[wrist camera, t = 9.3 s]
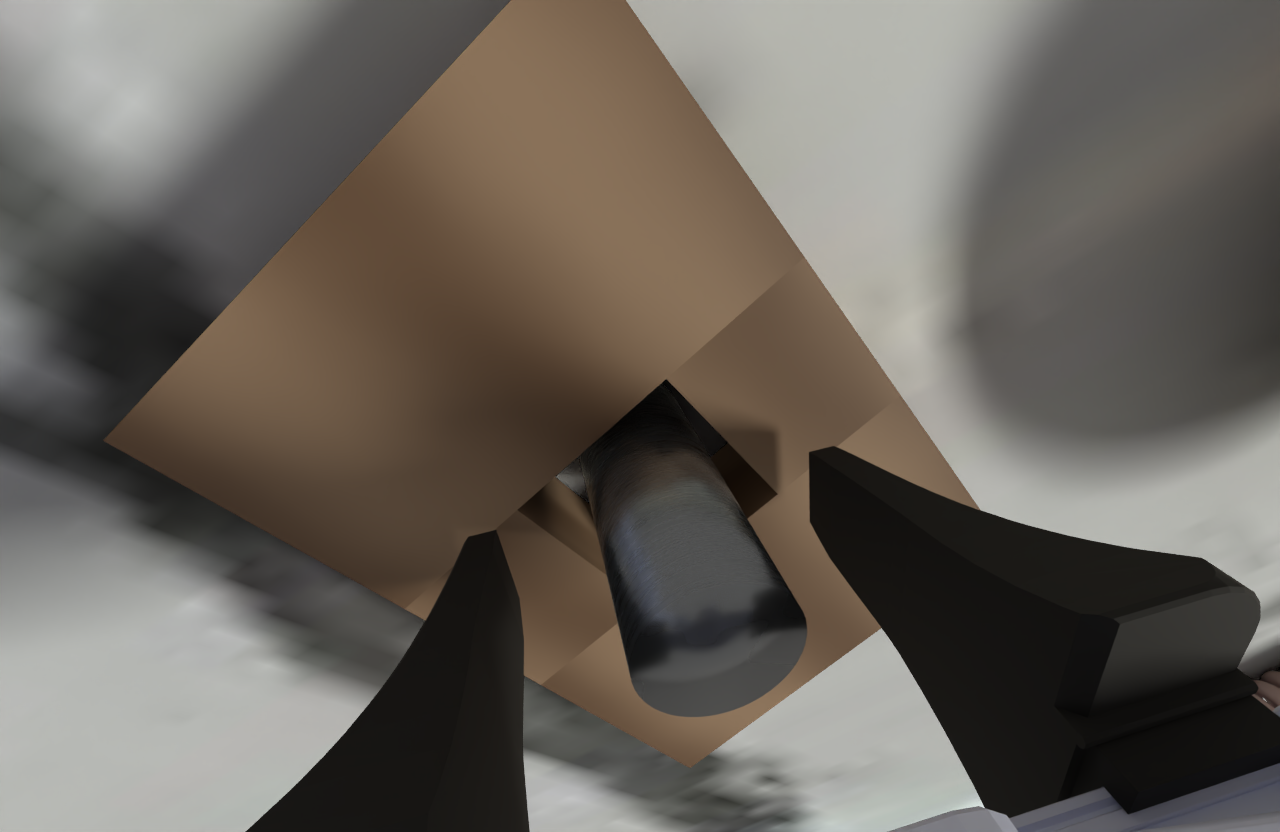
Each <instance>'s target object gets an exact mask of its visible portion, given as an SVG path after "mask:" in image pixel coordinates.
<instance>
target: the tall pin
mask: <svg viewBox="0 0 1280 832" xmlns="http://www.w3.org/2000/svg"><path fill="white" fill-rule="evenodd" d="M579 459H580V463H581V468H582V472H583V476H584V481H585V485H586V489H587V493H588V498H589V502H590V506H591V511H592V515H593V519H594V523H595V528H596V532H597V536H598V541H599V545H600V549H601V553H602V558H603V562H604V566H605V571H606V575H607V579H608V584H609V588H610V592H611V596H612V601H613V605H614V609H615V614H616V618H617V622H618V626H619V631H620V635H621V639H622V644H623V648H624V652H625V656H626V661H627V665H628V669H629V674H630V678H631V682H632V685H633V687H634V689H635V691H636V692H637V694H638V695H639V697H640V698H641V699H642V700H643V701H644V702H645V703H647V704H648V705H649V706H651V707H652V708H654V709H656V710H658V711H660V712H663V713H666V714H670V715H675V716H681V717H705V716H712V715H717V714H722V713H725V712H729V711H732V710H735V709H738V708H740V707H743V706H745V705H747V704H749V703H751V702H753V701H755V700H757V699H758V698H760V697H762V696H763V695H765V694H766V693H768V692H769V691H771V690H772V689H773V688H774V687H776V686H777V685H778V684H779V683H780V682H781V681H782V680H783V679H784V678H785V677H786V676H787V675H788V674H789V673H790V672H791V670H792V669H793V668H794V666H795V665H796V663H797V662H798V660H799V658H800V656H801V654H802V652H803V649H804V647H805V644H806V638H807V623H806V618H805V615H804V613H803V610H802V609H801V607H800V605H799V604H798V602H797V600H796V599H795V597H794V595H793V594H792V592H791V591H790V589H789V587H788V586H787V584H786V582H785V581H784V579H783V577H782V576H781V574H780V572H779V571H778V569H777V567H776V566H775V564H774V562H773V561H772V559H771V557H770V556H769V554H768V552H767V551H766V549H765V547H764V546H763V544H762V542H761V541H760V539H759V537H758V536H757V534H756V532H755V531H754V529H753V527H752V526H751V524H750V522H749V521H748V519H747V517H746V516H745V514H744V512H743V511H742V509H741V507H740V506H739V504H738V502H737V501H736V499H735V497H734V496H733V494H732V492H731V491H730V489H729V487H728V486H727V484H726V482H725V481H724V479H723V477H722V476H721V474H720V472H719V471H718V469H717V467H716V466H715V464H714V462H713V461H712V459H711V457H710V456H709V454H708V452H707V451H706V449H705V447H704V446H703V444H702V442H701V441H700V439H699V437H698V436H697V434H696V432H695V431H694V429H693V427H692V426H691V424H690V422H689V421H688V419H687V417H686V416H685V414H684V412H683V411H682V409H681V407H680V406H679V404H678V402H677V401H676V399H675V398H674V396H673V394H672V393H671V392H670V391H669V389H668V388H667V387H665V386H664V385H663V384H662V383H661V384H660V385H659V386H658V387H656V388H655V389H654V390H653V391H652V392H651V393H650V394H648V395H647V396H646V397H645V398H644V399H643V400H642V401H641V402H639V403H638V404H637V405H636V406H635V407H634V408H633V409H631V410H630V411H629V412H628V413H627V414H626V415H625V416H623V417H622V418H621V419H620V420H619V421H618V422H617V423H616V424H614V425H613V426H612V427H611V428H610V429H609V430H608V431H606V432H605V433H604V434H603V435H602V436H601V437H600V438H598V439H597V440H596V441H595V442H594V443H593V444H592V445H591V446H589V447H588V448H587V449H586V450H585V451H584V452H583V453H581V454H580V455H579Z"/></svg>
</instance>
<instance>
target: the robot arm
mask: <svg viewBox="0 0 1280 832" xmlns="http://www.w3.org/2000/svg"><path fill="white" fill-rule="evenodd" d="M809 509H810V523H811V525H812V527H813V529H814V531H815V533H816V535H817V536H818V538H819V540H820V542H821V544H822V545H823V547H824V549H825V551H826V552H827V554H828V556H829V558H830V559H831V561H832V562H833V563H834V565H835V566H836V567H837V569H838V570H839V572H840V573H841V574H842V576H843V577H844V578H845V580H846V581H847V582H848V584H849V585H850V586H851V588H852V589H853V590H854V592H855V593H856V594H857V596H858V597H859V598H860V600H861V601H862V602H863V604H864V605H865V606H866V608H867V609H868V610H869V612H870V613H871V614H872V616H873V617H874V618H875V620H876V621H877V622H878V624H879V625H880V626H881V628H882V629H883V630H884V632H885V633H886V634H887V636H888V637H889V639H890V640H891V642H892V643H893V645H894V646H895V648H896V649H897V650H898V652H899V654H900V655H901V657H902V659H903V660H904V662H905V664H906V665H907V667H908V669H909V670H910V672H911V674H912V675H913V677H914V679H915V680H916V682H917V684H918V685H919V687H920V689H921V690H922V692H923V694H924V696H925V697H926V699H927V701H928V703H929V704H930V706H931V708H932V710H933V711H934V713H935V715H936V717H937V718H938V720H939V722H940V724H941V725H942V727H943V729H944V731H945V732H946V734H947V736H948V738H949V740H950V742H951V744H952V746H953V747H954V749H955V751H956V753H957V755H958V757H959V759H960V760H961V762H962V764H963V766H964V768H965V770H966V772H967V774H968V775H969V777H970V779H971V781H972V783H973V785H974V787H975V789H976V791H977V793H978V795H979V797H980V799H981V801H982V803H983V805H984V807H985V808H982V807H979V806H977V807H972V808H966V809H960V810H954V811H950V812H947V813H944V814H941V815H937V816H934V817H931V818H928V819H925V820H922V821H919V822H916V823H913V824H910V825H907V826H904V827H901V828H898V829H895V830H892V831H889V832H1280V705H1279V706H1278V707H1276V708H1275V709H1274V710H1273V711H1271V710H1270V709H1269V708H1268V707H1266V706H1265V705H1264V704H1263V703H1261V702H1260V701H1259V700H1257V699H1256V698H1255V697H1254V696H1252V695H1253V694H1256V692H1257V691H1258V689H1259V688H1258V686H1257V684H1256V682H1254V681H1253V680H1252V679H1250V678H1249V677H1248V676H1247V675H1245V674H1244V673H1243V672H1241V671H1240V670H1239V669H1237V667H1238V665H1239V663H1240V661H1241V659H1242V657H1243V655H1244V653H1245V651H1246V649H1247V647H1248V645H1249V643H1250V641H1251V639H1252V637H1253V635H1254V634H1255V632H1256V629H1257V626H1258V623H1259V621H1260V601H1259V599H1258V598H1257V596H1256V594H1255V593H1254V592H1253V591H1252V590H1250V589H1248V588H1247V587H1245V586H1244V585H1242V584H1241V583H1239V582H1238V581H1236V580H1235V579H1233V578H1232V577H1230V576H1229V575H1227V574H1226V573H1224V572H1223V571H1221V570H1220V569H1218V568H1217V567H1215V566H1214V565H1212V564H1211V563H1209V562H1207V561H1206V560H1204V559H1203V558H1198V557H1191V556H1184V555H1176V554H1169V553H1161V552H1154V551H1147V550H1139V549H1133V548H1127V547H1121V546H1116V545H1111V544H1106V543H1100V542H1095V541H1090V540H1085V539H1081V538H1076V537H1072V536H1067V535H1063V534H1059V533H1055V532H1051V531H1047V530H1043V529H1040V528H1036V527H1032V526H1028V525H1025V524H1021V523H1018V522H1014V521H1011V520H1008V519H1005V518H1002V517H999V516H996V515H993V514H990V513H987V512H984V511H981V510H977V509H975V508H972V507H969V506H967V505H964V504H961V503H959V502H956V501H954V500H951V499H949V498H946V497H944V496H941V495H939V494H937V493H934V492H932V491H929V490H927V489H925V488H923V487H920V486H918V485H916V484H914V483H911V482H909V481H907V480H905V479H903V478H901V477H899V476H896V475H894V474H892V473H890V472H888V471H886V470H884V469H882V468H880V467H878V466H876V465H874V464H872V463H870V462H867V461H865V460H863V459H861V458H859V457H857V456H855V455H853V454H851V453H849V452H847V451H845V450H842V449H840V448H838V447H835V446H831V447H827V448H823V449H819V450H815V451H811V452H809ZM523 693H524V635H523V625H522V616H521V607H520V598H519V595H518V592H517V589H516V586H515V583H514V580H513V577H512V574H511V572H510V569H509V566H508V563H507V560H506V557H505V554H504V551H503V548H502V545H501V542H500V539H499V536H498V533H497V530H493V531H489V532H485V533H481V534H477V535H473V536H469V537H468V538H467V539H466V541H465V542H464V544H463V547H462V549H461V551H460V553H459V556H458V558H457V560H456V562H455V564H454V566H453V569H452V571H451V573H450V575H449V577H448V579H447V581H446V583H445V585H444V587H443V589H442V591H441V593H440V595H439V597H438V598H437V600H436V602H435V604H434V606H433V608H432V610H431V612H430V614H429V615H428V617H427V619H426V621H425V622H424V624H423V626H422V627H421V629H420V631H419V632H418V634H417V636H416V637H415V639H414V641H413V642H412V644H411V646H410V647H409V649H408V650H407V652H406V654H405V655H404V657H403V658H402V660H401V661H400V663H399V664H398V666H397V667H396V669H395V670H394V671H393V673H392V674H391V676H390V677H389V678H388V680H387V681H386V683H385V684H384V685H383V687H382V688H381V689H380V691H379V692H378V693H377V695H376V696H375V697H374V699H373V700H372V701H371V702H370V704H369V705H368V706H367V707H366V708H365V710H364V711H363V712H362V713H361V714H360V716H359V717H358V718H357V719H356V720H355V722H354V723H353V724H352V725H351V727H350V728H349V729H348V730H347V731H346V733H345V734H344V735H343V736H342V737H341V738H340V739H339V740H338V741H337V743H336V744H335V745H334V746H333V747H332V748H331V749H330V750H329V751H328V752H327V753H326V755H325V756H324V757H323V758H322V759H321V760H320V761H319V762H318V763H317V764H316V765H315V766H314V767H313V768H312V769H311V770H310V771H309V772H308V773H307V774H306V775H305V776H304V777H303V778H302V779H301V780H300V781H299V782H298V783H297V784H296V785H295V786H294V787H293V788H292V789H291V790H290V791H289V792H288V793H287V794H286V795H285V796H284V797H283V798H282V799H281V800H279V801H278V802H277V803H276V804H275V805H274V806H273V807H272V808H271V809H270V810H269V811H268V812H267V813H265V814H264V815H263V816H262V817H261V818H260V819H259V820H258V821H257V822H256V823H255V824H254V825H252V826H251V827H250V828H249V829H248V830H247V831H246V832H530V831H529V821H528V810H527V799H526V787H525V774H524V762H523Z"/></svg>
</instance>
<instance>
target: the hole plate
mask: <svg viewBox="0 0 1280 832" xmlns="http://www.w3.org/2000/svg"><path fill="white" fill-rule="evenodd" d="M666 379H667V380H668V381H669V382H670V383H671V384H672V385H673V386H674V387H675V388H676V389H677V390H678V391H679V392H680V393H681V394H682V396H683V397H684V398H685V399H686V400H687V401H688V402H689V403H690V404H691V405H692V406H693V407H694V408H695V409H696V410H697V411H698V412H699V413H700V414H701V415H702V416H703V417H704V418H705V419H706V420H707V421H708V422H709V423H710V424H711V425H712V426H713V428H714V429H715V430H716V431H717V432H718V433H719V434H720V435H721V436H722V437H723V438H724V439H725V440H726V441H727V442H728V443H727V444H726V445H725V446H724V447H723V448H721V449H720V450H719V451H718V452H717V453H715V454H714V455H713V456H712V457H711V459H712V461H713V462H714V464H715V466H716V467H717V469H718V471H719V472H720V474H721V476H722V477H723V479H724V481H725V482H726V484H727V486H728V487H729V489H730V491H731V492H732V494H733V496H734V497H735V499H736V501H737V502H738V504H739V506H740V507H741V509H742V511H743V512H744V514H745V516H746V517H747V519H748V521H749V522H750V524H751V526H752V527H753V529H754V531H755V532H756V534H757V536H758V537H759V539H760V541H761V542H762V544H763V546H764V547H765V549H766V551H767V552H768V554H769V556H770V557H771V559H772V561H773V562H774V564H775V566H776V567H777V569H778V571H779V572H780V574H781V576H782V577H783V579H784V581H785V582H786V584H787V586H788V587H789V589H790V591H791V592H792V594H793V595H794V597H795V599H796V600H797V602H798V604H799V605H800V607H801V609H802V610H803V613H804V615H805V618H806V623H807V638H806V644H805V647H804V649H803V652H802V654H801V656H800V658H799V660H798V662H797V663H796V665H795V666H794V668H793V669H792V670H791V672H790V673H789V674H788V675H787V676H786V677H785V678H784V679H783V680H782V681H781V682H780V683H779V684H778V685H777V686H776V687H774V688H773V689H772V690H771V691H769V692H768V693H766V694H765V695H763V696H762V697H760V698H758V699H757V700H755V701H753V702H751V703H749V704H747V705H745V706H743V707H740V708H738V709H735V710H732V711H729V712H725V713H722V714H717V715H712V716H705V717H681V716H675V715H670V714H666V713H663V712H660V711H658V710H656V709H654V708H652V707H651V706H649V705H648V704H647V703H645V702H644V701H643V700H642V699H641V698H640V697H639V695H638V694H637V692H636V691H635V689H634V687H633V685H632V682H631V678H630V674H629V669H628V665H627V661H626V656H625V652H624V648H623V644H622V639H621V635H620V631H619V626H618V622H617V618H616V614H615V609H614V605H613V601H612V596H611V592H610V588H609V584H608V579H607V575H606V571H605V566H604V562H603V558H602V553H601V549H600V545H599V541H598V536H597V532H596V528H595V523H594V519H593V515H592V511H591V506H590V504H588V503H587V502H586V501H585V500H583V499H582V498H581V497H579V496H578V495H577V494H576V493H574V492H573V491H572V490H571V489H569V488H568V487H567V486H566V485H564V484H563V483H562V482H561V481H559V480H558V479H557V478H556V477H555V476H556V475H558V474H559V473H560V472H561V471H562V470H563V469H564V468H566V467H567V466H568V465H569V464H570V463H571V462H572V461H573V460H575V459H576V458H577V457H578V456H579V455H580V454H581V453H583V452H584V451H585V450H586V449H587V448H588V447H589V446H591V445H592V444H593V443H594V442H595V441H596V440H597V439H598V438H600V437H601V436H602V435H603V434H604V433H605V432H606V431H608V430H609V429H610V428H611V427H612V426H613V425H614V424H616V423H617V422H618V421H619V420H620V419H621V418H622V417H623V416H625V415H626V414H627V413H628V412H629V411H630V410H631V409H633V408H634V407H635V406H636V405H637V404H638V403H639V402H641V401H642V400H643V399H644V398H645V397H646V396H647V395H648V394H650V393H651V392H652V391H653V390H654V389H655V388H656V387H658V386H659V385H660V384H661V383H662V382H663V381H664V380H666ZM103 441H105V442H106V443H108V444H110V445H112V446H114V447H115V448H117V449H119V450H121V451H123V452H124V453H126V454H128V455H130V456H132V457H133V458H135V459H137V460H139V461H140V462H142V463H144V464H146V465H148V466H149V467H151V468H153V469H155V470H157V471H158V472H160V473H162V474H164V475H166V476H167V477H169V478H171V479H173V480H175V481H176V482H178V483H180V484H182V485H183V486H185V487H187V488H189V489H191V490H192V491H194V492H196V493H198V494H200V495H201V496H203V497H205V498H207V499H209V500H210V501H212V502H214V503H216V504H218V505H219V506H221V507H223V508H225V509H226V510H228V511H230V512H232V513H234V514H235V515H237V516H239V517H241V518H243V519H244V520H246V521H248V522H250V523H252V524H253V525H255V526H257V527H259V528H261V529H262V530H264V531H266V532H268V533H270V534H271V535H273V536H275V537H277V538H278V539H280V540H282V541H284V542H286V543H287V544H289V545H291V546H293V547H295V548H296V549H298V550H300V551H302V552H304V553H305V554H307V555H309V556H311V557H313V558H314V559H316V560H318V561H320V562H321V563H323V564H325V565H327V566H329V567H330V568H332V569H334V570H336V571H338V572H339V573H341V574H343V575H345V576H347V577H348V578H350V579H352V580H354V581H356V582H357V583H359V584H361V585H363V586H364V587H366V588H368V589H370V590H372V591H373V592H375V593H377V594H379V595H381V596H382V597H384V598H386V599H388V600H390V601H391V602H393V603H395V604H397V605H399V606H400V607H402V608H404V609H406V610H407V611H409V612H411V613H413V614H415V615H416V616H418V617H420V618H422V619H424V620H425V621H426V619H427V617H428V615H429V614H430V612H431V610H432V608H433V606H434V604H435V602H436V600H437V598H438V597H439V595H440V593H441V591H442V589H443V587H444V585H445V583H446V581H447V579H448V577H449V575H450V573H451V571H452V569H453V566H454V564H455V562H456V560H457V558H458V556H459V553H460V551H461V549H462V547H463V544H464V542H465V541H466V539H467V538H468V537H469V536H473V535H477V534H481V533H485V532H489V531H493V530H497V533H498V536H499V539H500V542H501V545H502V548H503V551H504V554H505V557H506V560H507V563H508V566H509V569H510V572H511V574H512V577H513V580H514V583H515V586H516V589H517V592H518V595H519V598H520V607H521V616H522V625H523V635H524V676H526V677H528V678H529V679H531V680H533V681H535V682H537V683H538V684H540V685H542V686H544V687H545V688H547V689H549V690H551V691H553V692H554V693H556V694H558V695H560V696H562V697H563V698H565V699H567V700H569V701H571V702H572V703H574V704H576V705H578V706H580V707H581V708H583V709H585V710H587V711H588V712H590V713H592V714H594V715H596V716H597V717H599V718H601V719H603V720H605V721H606V722H608V723H610V724H612V725H614V726H615V727H617V728H619V729H621V730H623V731H624V732H626V733H628V734H630V735H631V736H633V737H635V738H637V739H639V740H640V741H642V742H644V743H646V744H648V745H649V746H651V747H653V748H655V749H657V750H658V751H660V752H662V753H664V754H666V755H667V756H669V757H671V758H673V759H674V760H676V761H678V762H680V763H682V764H683V765H685V766H687V767H689V768H691V767H692V766H693V765H695V764H696V763H697V762H699V761H700V760H702V759H703V758H704V757H706V756H707V755H708V754H710V753H711V752H713V751H714V750H715V749H717V748H718V747H719V746H721V745H722V744H723V743H725V742H726V741H728V740H729V739H730V738H732V737H733V736H734V735H736V734H737V733H738V732H740V731H741V730H743V729H744V728H745V727H747V726H748V725H749V724H751V723H752V722H754V721H755V720H756V719H758V718H759V717H760V716H762V715H763V714H764V713H766V712H767V711H769V710H770V709H771V708H773V707H774V706H775V705H777V704H778V703H780V702H781V701H782V700H784V699H785V698H786V697H788V696H789V695H790V694H792V693H793V692H795V691H796V690H797V689H799V688H800V687H801V686H803V685H804V684H805V683H807V682H808V681H810V680H811V679H812V678H814V677H815V676H816V675H818V674H819V673H821V672H822V671H823V670H825V669H826V668H827V667H829V666H830V665H831V664H833V663H834V662H836V661H837V660H838V659H840V658H841V657H842V656H844V655H845V654H847V653H848V652H849V651H851V650H852V649H853V648H855V647H856V646H857V645H859V644H860V643H862V642H863V641H864V640H866V639H867V638H868V637H870V636H871V635H873V634H874V633H875V632H877V631H878V630H879V629H881V626H880V625H879V624H878V622H877V621H876V620H875V618H874V617H873V616H872V614H871V613H870V612H869V610H868V609H867V608H866V606H865V605H864V604H863V602H862V601H861V600H860V598H859V597H858V596H857V594H856V593H855V592H854V590H853V589H852V588H851V586H850V585H849V584H848V582H847V581H846V580H845V578H844V577H843V576H842V574H841V573H840V572H839V570H838V569H837V567H836V566H835V565H834V563H833V562H832V561H831V559H830V558H829V556H828V554H827V552H826V551H825V549H824V547H823V545H822V544H821V542H820V540H819V538H818V536H817V535H816V533H815V531H814V529H813V527H812V525H811V523H810V509H809V452H811V451H815V450H819V449H823V448H827V447H831V446H835V447H838V448H840V449H842V450H845V451H847V452H849V453H851V454H853V455H855V456H857V457H859V458H861V459H863V460H865V461H867V462H870V463H872V464H874V465H876V466H878V467H880V468H882V469H884V470H886V471H888V472H890V473H892V474H894V475H896V476H899V477H901V478H903V479H905V480H907V481H909V482H911V483H914V484H916V485H918V486H920V487H923V488H925V489H927V490H929V491H932V492H934V493H937V494H939V495H941V496H944V497H946V498H949V499H951V500H954V501H956V502H959V503H961V504H964V505H967V506H969V507H972V508H975V509H977V510H980V509H979V507H978V506H977V504H976V503H975V502H974V500H973V499H972V497H971V496H970V494H969V493H968V492H967V490H966V489H965V487H964V486H963V484H962V483H961V482H960V480H959V479H958V477H957V476H956V474H955V473H954V471H953V470H952V469H951V467H950V466H949V464H948V463H947V461H946V460H945V459H944V457H943V456H942V454H941V453H940V451H939V450H938V448H937V447H936V446H935V444H934V443H933V441H932V440H931V438H930V437H929V436H928V434H927V433H926V431H925V430H924V428H923V427H922V425H921V424H920V423H919V421H918V420H917V418H916V417H915V415H914V414H913V413H912V411H911V410H910V408H909V407H908V405H907V404H906V402H905V401H904V400H903V398H902V397H901V395H900V394H899V392H898V391H897V390H896V388H895V387H894V385H893V384H892V382H891V381H890V379H889V378H888V377H887V375H886V374H885V372H884V371H883V369H882V368H881V367H880V365H879V364H878V362H877V361H876V359H875V358H874V356H873V355H872V354H871V352H870V351H869V349H868V348H867V346H866V345H865V344H864V342H863V341H862V339H861V338H860V336H859V335H858V333H857V332H856V331H855V329H854V328H853V326H852V325H851V323H850V322H849V321H848V319H847V318H846V316H845V315H844V313H843V312H842V310H841V309H840V308H839V306H838V305H837V303H836V302H835V300H834V299H833V298H832V296H831V295H830V293H829V292H828V290H827V289H826V288H825V286H824V285H823V283H822V282H821V280H820V279H819V277H818V276H817V275H816V273H815V272H814V270H813V269H812V267H811V266H810V265H809V263H808V262H807V260H806V259H805V257H804V256H803V254H802V253H801V252H800V250H799V249H798V247H797V246H796V244H795V243H794V242H793V240H792V239H791V237H790V236H789V234H788V233H787V231H786V230H785V229H784V227H783V226H782V224H781V223H780V221H779V220H778V219H777V217H776V216H775V214H774V213H773V211H772V210H771V208H770V207H769V206H768V204H767V203H766V201H765V200H764V198H763V197H762V196H761V194H760V193H759V191H758V190H757V188H756V187H755V185H754V184H753V183H752V181H751V180H750V178H749V177H748V175H747V174H746V173H745V171H744V170H743V168H742V167H741V165H740V164H739V162H738V161H737V160H736V158H735V157H734V155H733V154H732V152H731V151H730V150H729V148H728V147H727V145H726V144H725V142H724V141H723V139H722V138H721V137H720V135H719V134H718V132H717V131H716V129H715V128H714V127H713V125H712V124H711V122H710V121H709V119H708V118H707V116H706V115H705V114H704V112H703V111H702V109H701V108H700V106H699V105H698V104H697V102H696V101H695V99H694V98H693V96H692V95H691V94H690V92H689V91H688V89H687V88H686V86H685V85H684V83H683V82H682V81H681V79H680V78H679V76H678V75H677V73H676V72H675V71H674V69H673V68H672V66H671V65H670V63H669V62H668V60H667V59H666V58H665V56H664V55H663V53H662V52H661V50H660V49H659V48H658V46H657V45H656V43H655V42H654V40H653V39H652V37H651V36H650V35H649V33H648V32H647V30H646V29H645V27H644V26H643V25H642V23H641V22H640V20H639V19H638V17H637V16H636V14H635V13H634V12H633V10H632V9H631V7H630V6H629V4H628V3H627V2H626V0H511V1H510V2H509V3H508V4H507V5H506V6H505V7H504V8H503V9H502V10H501V11H500V13H499V14H498V15H497V16H496V17H495V18H494V19H493V20H492V21H491V22H490V23H489V24H488V26H487V27H486V28H485V29H484V30H483V31H482V32H481V33H480V34H479V35H478V36H477V37H476V38H475V40H474V41H473V42H472V43H471V44H470V45H469V46H468V47H467V48H466V49H465V50H464V51H463V53H462V54H461V55H460V56H459V57H458V58H457V59H456V60H455V61H454V62H453V63H452V64H451V65H450V67H449V68H448V69H447V70H446V71H445V72H444V73H443V74H442V75H441V76H440V77H439V78H438V80H437V81H436V82H435V83H434V84H433V85H432V86H431V87H430V88H429V89H428V90H427V91H426V92H425V94H424V95H423V96H422V97H421V98H420V99H419V100H418V101H417V102H416V103H415V104H414V105H413V107H412V108H411V109H410V110H409V111H408V112H407V113H406V114H405V115H404V116H403V117H402V118H401V119H400V121H399V122H398V123H397V124H396V125H395V126H394V127H393V128H392V129H391V130H390V131H389V132H388V133H387V135H386V136H385V137H384V138H383V139H382V140H381V141H380V142H379V143H378V144H377V145H376V146H375V148H374V149H373V150H372V151H371V152H370V153H369V154H368V155H367V156H366V157H365V158H364V159H363V160H362V162H361V163H360V164H359V165H358V166H357V167H356V168H355V169H354V170H353V171H352V172H351V173H350V175H349V176H348V177H347V178H346V179H345V180H344V181H343V182H342V183H341V184H340V185H339V186H338V187H337V189H336V190H335V191H334V192H333V193H332V194H331V195H330V196H329V197H328V198H327V199H326V200H325V202H324V203H323V204H322V205H321V206H320V207H319V208H318V209H317V210H316V211H315V212H314V213H313V214H312V216H311V217H310V218H309V219H308V220H307V221H306V222H305V223H304V224H303V225H302V226H301V227H300V229H299V230H298V231H297V232H296V233H295V234H294V235H293V236H292V237H291V238H290V239H289V240H288V241H287V243H286V244H285V245H284V246H283V247H282V248H281V249H280V250H279V251H278V252H277V253H276V254H275V256H274V257H273V258H272V259H271V260H270V261H269V262H268V263H267V264H266V265H265V266H264V267H263V268H262V270H261V271H260V272H259V273H258V274H257V275H256V276H255V277H254V278H253V279H252V280H251V281H250V282H249V284H248V285H247V286H246V287H245V288H244V289H243V290H242V291H241V292H240V293H239V294H238V295H237V297H236V298H235V299H234V300H233V301H232V302H231V303H230V304H229V305H228V306H227V307H226V308H225V309H224V311H223V312H222V313H221V314H220V315H219V316H218V317H217V318H216V319H215V320H214V321H213V322H212V324H211V325H210V326H209V327H208V328H207V329H206V330H205V331H204V332H203V333H202V334H201V335H200V336H199V338H198V339H197V340H196V341H195V342H194V343H193V344H192V345H191V346H190V347H189V348H188V349H187V351H186V352H185V353H184V354H183V355H182V356H181V357H180V358H179V359H178V360H177V361H176V362H175V363H174V365H173V366H172V367H171V368H170V369H169V370H168V371H167V372H166V373H165V374H164V375H163V376H162V378H161V379H160V380H159V381H158V382H157V383H156V384H155V385H154V386H153V387H152V388H151V389H150V390H149V392H148V393H147V394H146V395H145V396H144V397H143V398H142V399H141V400H140V401H139V402H138V403H137V405H136V406H135V407H134V408H133V409H132V410H131V411H130V412H129V413H128V414H127V415H126V416H125V417H124V419H123V420H122V421H121V422H120V423H119V424H118V425H117V426H116V427H115V428H114V429H113V430H112V431H111V433H110V434H109V435H108V436H107V437H106V438H105V439H104V440H103Z"/></svg>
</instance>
